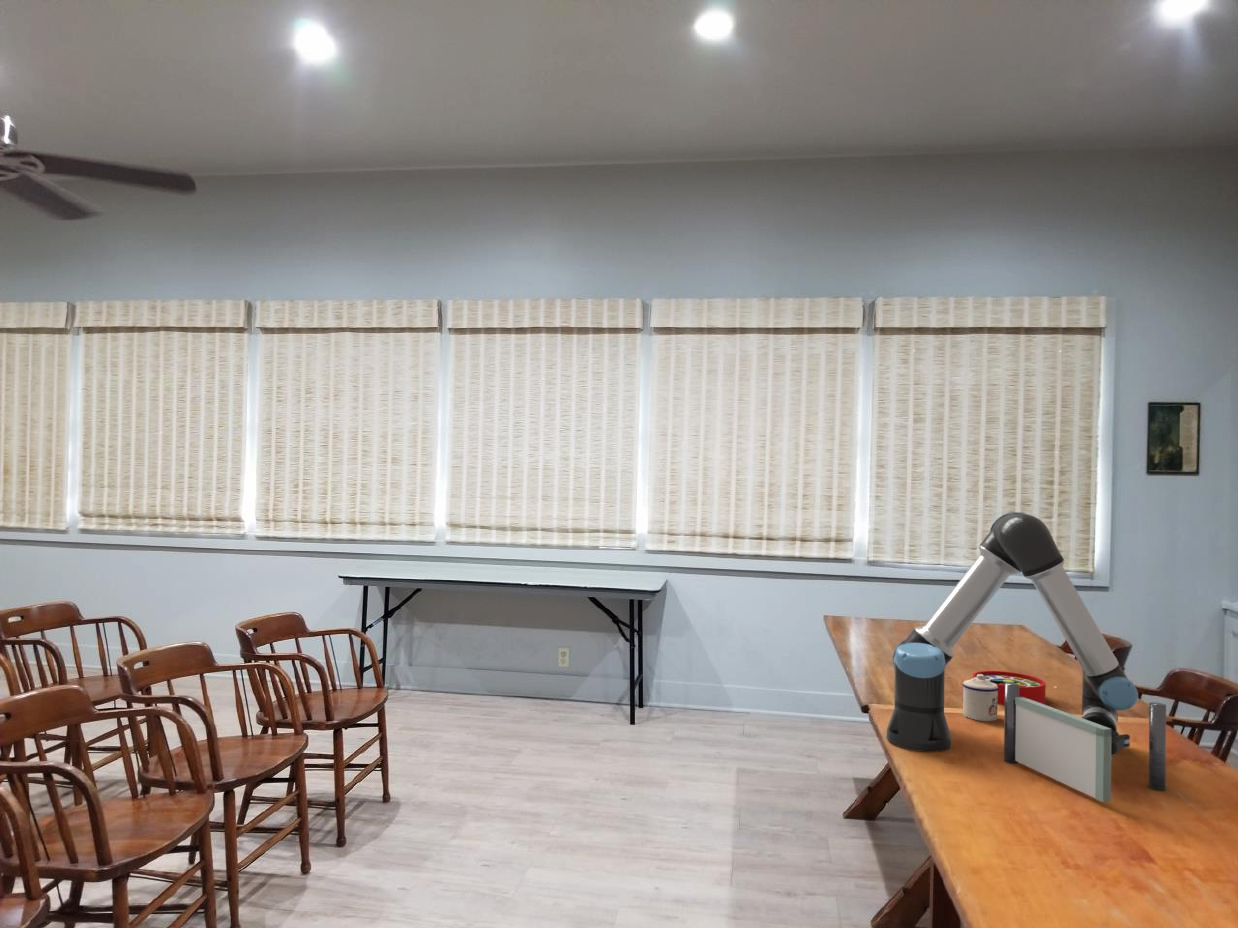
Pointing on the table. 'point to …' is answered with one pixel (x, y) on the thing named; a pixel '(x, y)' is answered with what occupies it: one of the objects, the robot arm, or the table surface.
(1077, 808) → the table surface
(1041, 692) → the toy clock
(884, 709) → the table surface
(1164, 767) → the posts
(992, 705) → the teacup with lid
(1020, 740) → the grey rectangular panel
